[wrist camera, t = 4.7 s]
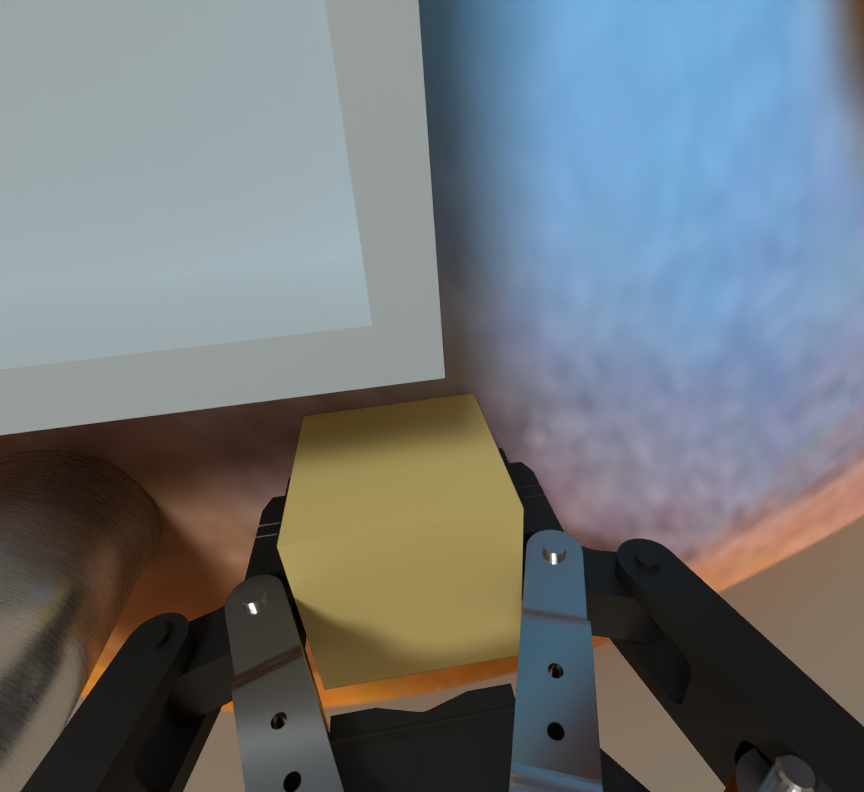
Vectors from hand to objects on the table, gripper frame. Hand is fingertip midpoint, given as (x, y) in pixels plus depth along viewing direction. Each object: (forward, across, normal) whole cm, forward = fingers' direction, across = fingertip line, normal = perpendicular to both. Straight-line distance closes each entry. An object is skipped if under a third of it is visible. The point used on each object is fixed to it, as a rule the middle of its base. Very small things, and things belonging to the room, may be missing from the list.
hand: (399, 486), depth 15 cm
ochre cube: (+1, 0, 0) cm, 1 cm away
